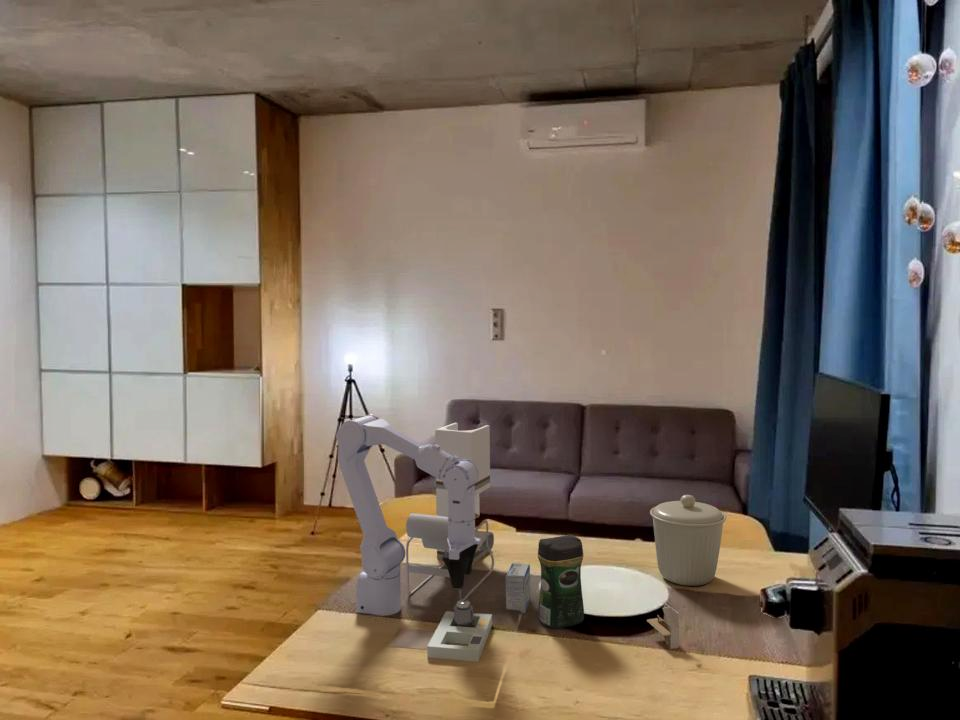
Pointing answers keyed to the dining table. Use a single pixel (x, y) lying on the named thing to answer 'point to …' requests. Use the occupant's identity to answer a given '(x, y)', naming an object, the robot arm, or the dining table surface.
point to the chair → (439, 544)
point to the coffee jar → (560, 581)
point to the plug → (463, 614)
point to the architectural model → (668, 625)
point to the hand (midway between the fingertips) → (461, 580)
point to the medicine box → (518, 587)
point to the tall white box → (464, 447)
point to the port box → (460, 638)
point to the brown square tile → (411, 639)
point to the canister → (687, 540)
